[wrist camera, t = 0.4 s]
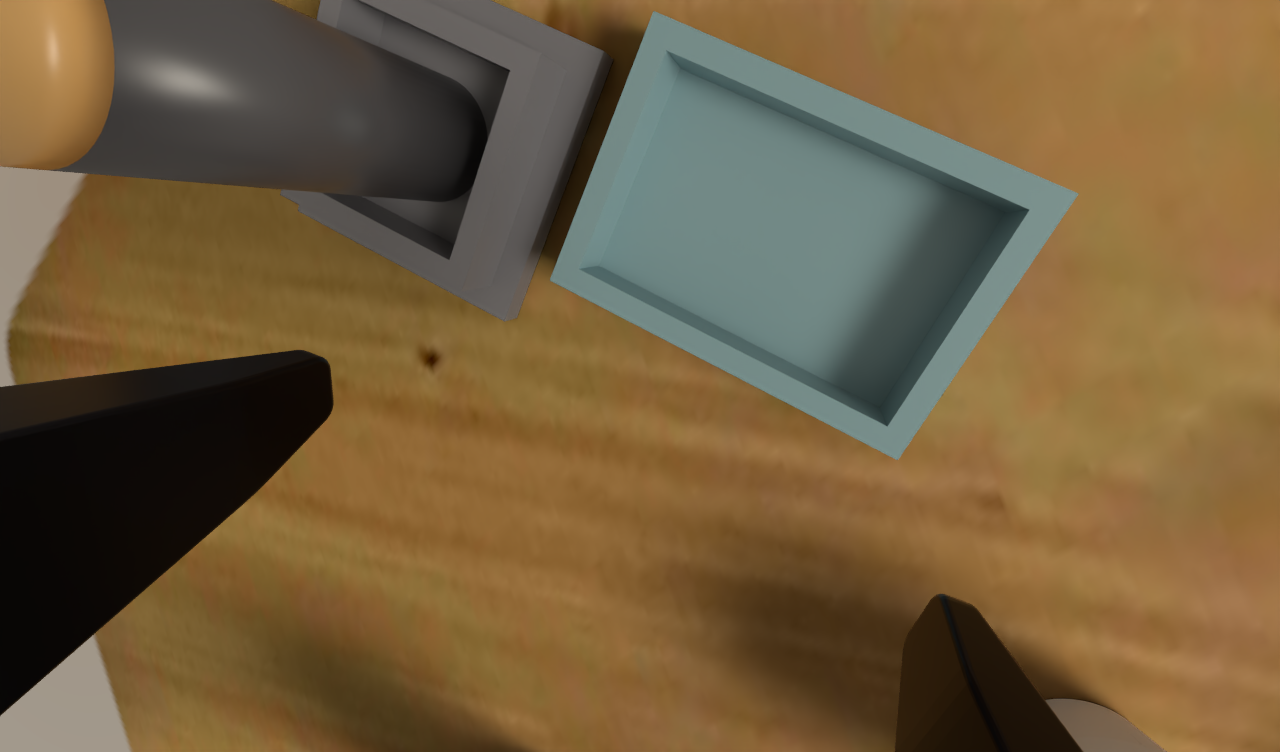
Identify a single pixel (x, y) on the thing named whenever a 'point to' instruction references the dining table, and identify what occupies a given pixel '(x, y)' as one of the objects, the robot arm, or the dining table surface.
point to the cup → (1100, 728)
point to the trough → (800, 234)
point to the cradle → (513, 157)
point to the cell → (228, 100)
